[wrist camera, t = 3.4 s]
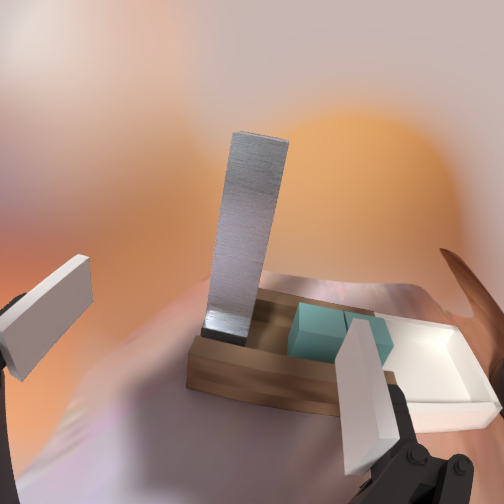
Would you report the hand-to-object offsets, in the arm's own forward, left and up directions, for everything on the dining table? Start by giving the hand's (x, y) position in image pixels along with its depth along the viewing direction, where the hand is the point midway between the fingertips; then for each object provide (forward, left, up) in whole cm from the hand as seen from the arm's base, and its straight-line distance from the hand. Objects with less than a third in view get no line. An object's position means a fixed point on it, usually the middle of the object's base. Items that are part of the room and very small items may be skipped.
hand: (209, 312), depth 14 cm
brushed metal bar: (0, -10, -10) cm, 13 cm away
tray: (-21, -10, -11) cm, 25 cm away
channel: (-6, -10, -11) cm, 16 cm away
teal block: (-8, -10, -10) cm, 15 cm away
